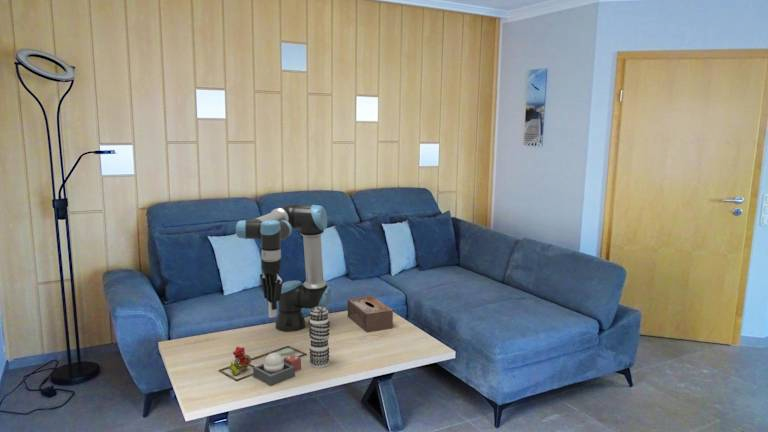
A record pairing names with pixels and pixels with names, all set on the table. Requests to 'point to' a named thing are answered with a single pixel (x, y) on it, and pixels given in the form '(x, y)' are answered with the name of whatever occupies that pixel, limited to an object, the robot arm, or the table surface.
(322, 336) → the decorative candle
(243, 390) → the table surface
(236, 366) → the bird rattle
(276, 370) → the dome
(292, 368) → the dome housing
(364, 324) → the tissue box cover
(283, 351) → the frame
